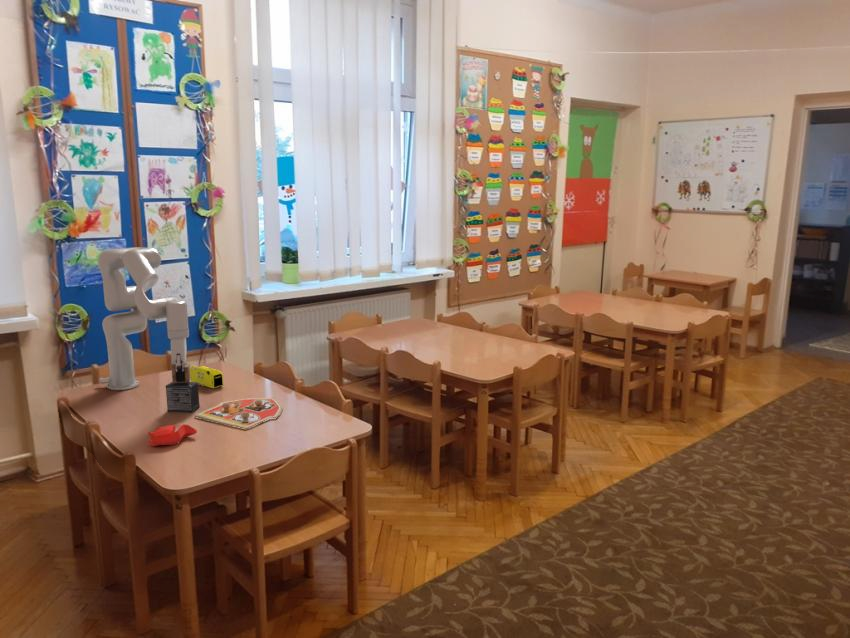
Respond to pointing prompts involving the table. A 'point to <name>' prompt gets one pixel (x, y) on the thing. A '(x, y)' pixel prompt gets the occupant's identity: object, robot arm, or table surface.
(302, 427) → the table surface
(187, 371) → the walnut cube
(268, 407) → the knob puzzle
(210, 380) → the yellow toy chassis
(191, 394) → the small box
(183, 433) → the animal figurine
